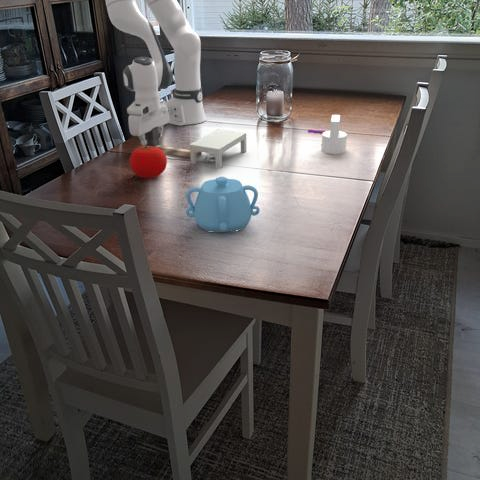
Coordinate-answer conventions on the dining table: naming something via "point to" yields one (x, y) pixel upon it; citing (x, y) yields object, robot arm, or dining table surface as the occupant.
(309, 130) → the squeegee
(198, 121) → the robot arm
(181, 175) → the dining table surface
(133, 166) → the tomato
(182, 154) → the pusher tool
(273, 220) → the dining table surface
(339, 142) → the cylinder with rectangular tab
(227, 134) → the low bench
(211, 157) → the steel puck
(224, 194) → the decorative pot
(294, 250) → the dining table surface
